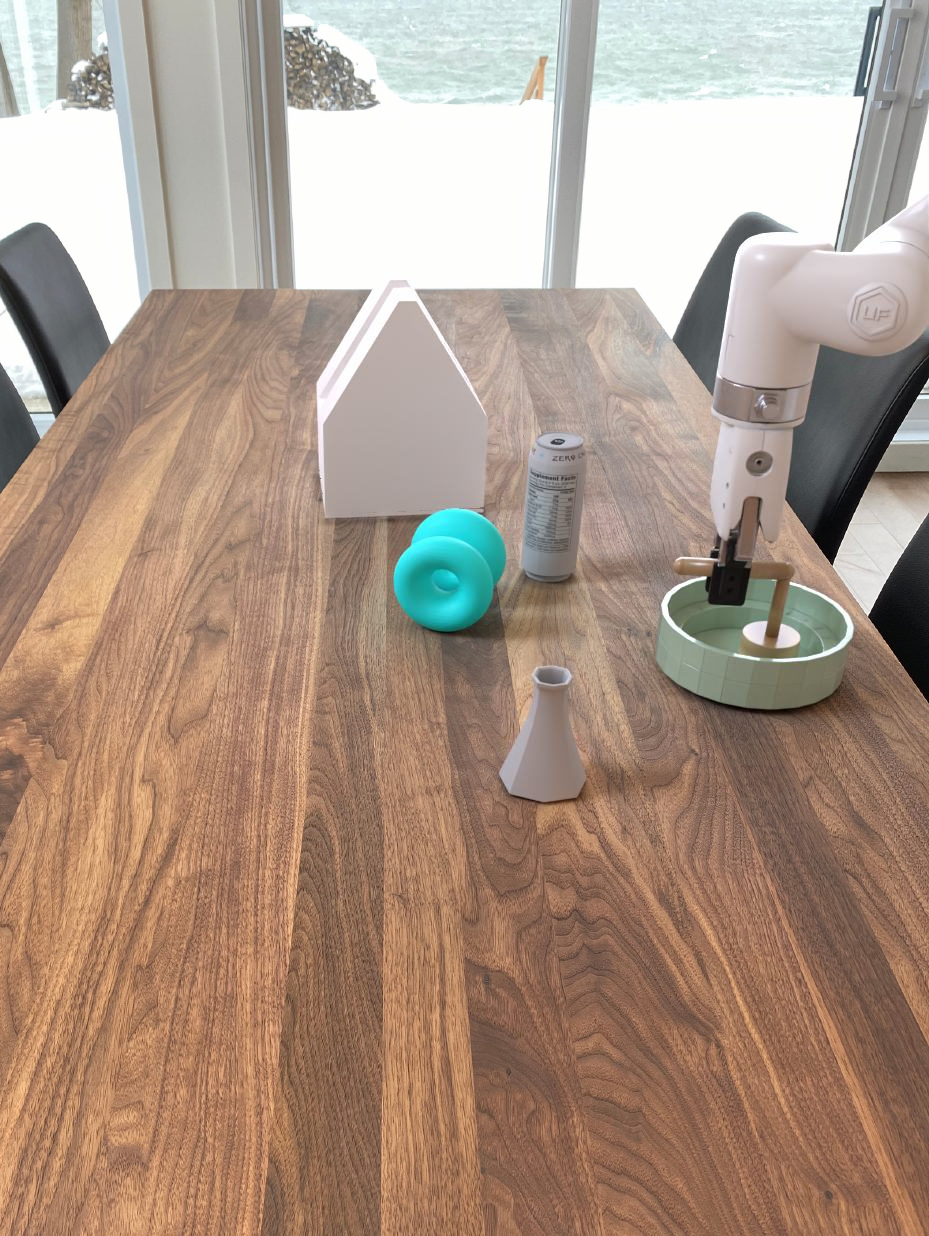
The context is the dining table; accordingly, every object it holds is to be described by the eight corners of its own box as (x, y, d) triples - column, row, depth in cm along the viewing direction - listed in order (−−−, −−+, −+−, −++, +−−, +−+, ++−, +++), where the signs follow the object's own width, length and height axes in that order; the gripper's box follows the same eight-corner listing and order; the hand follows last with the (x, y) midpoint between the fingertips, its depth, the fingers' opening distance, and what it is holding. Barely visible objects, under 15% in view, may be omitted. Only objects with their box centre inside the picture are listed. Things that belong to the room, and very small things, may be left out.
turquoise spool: (505, 597, 125) (511, 509, 119) (487, 642, 117) (493, 550, 111) (413, 586, 127) (415, 499, 121) (389, 630, 119) (390, 538, 113)
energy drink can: (583, 567, 131) (598, 435, 122) (562, 589, 126) (575, 453, 118) (533, 556, 133) (544, 426, 125) (511, 576, 129) (520, 443, 120)
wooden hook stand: (790, 646, 112) (812, 552, 107) (799, 674, 108) (822, 577, 102) (657, 638, 114) (672, 545, 108) (661, 666, 109) (676, 570, 104)
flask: (584, 756, 101) (596, 654, 95) (588, 807, 95) (602, 702, 89) (498, 751, 101) (505, 650, 96) (498, 802, 95) (505, 697, 90)
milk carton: (325, 518, 142) (319, 303, 128) (319, 471, 155) (313, 270, 141) (483, 512, 143) (494, 298, 129) (464, 465, 156) (472, 266, 142)
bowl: (822, 628, 119) (834, 579, 116) (857, 721, 105) (871, 667, 102) (649, 618, 121) (656, 569, 118) (660, 707, 107) (668, 655, 104)
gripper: (825, 432, 90) (779, 642, 101) (791, 370, 103) (754, 563, 114) (724, 428, 91) (689, 637, 102) (704, 367, 104) (674, 559, 114)
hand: (724, 596), depth 107 cm, fingers closed on wooden hook stand, 1 cm apart
